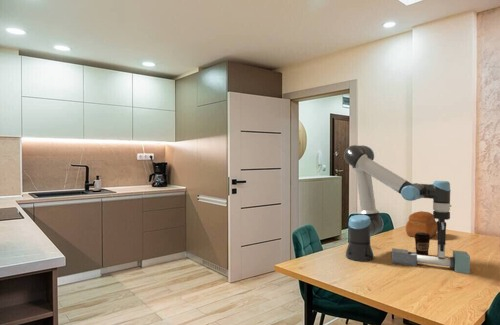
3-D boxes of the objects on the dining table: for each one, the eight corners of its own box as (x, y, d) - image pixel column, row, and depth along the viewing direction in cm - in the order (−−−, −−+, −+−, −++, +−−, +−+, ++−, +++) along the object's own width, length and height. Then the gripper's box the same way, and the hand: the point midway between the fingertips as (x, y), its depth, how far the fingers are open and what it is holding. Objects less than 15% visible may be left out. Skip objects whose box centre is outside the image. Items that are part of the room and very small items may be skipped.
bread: (439, 234, 236) (439, 211, 236) (430, 240, 221) (430, 215, 221) (413, 231, 249) (413, 209, 248) (403, 236, 233) (403, 212, 233)
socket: (455, 272, 160) (455, 255, 160) (452, 266, 168) (452, 250, 168) (469, 273, 158) (470, 256, 157) (466, 268, 166) (466, 251, 166)
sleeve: (391, 263, 173) (391, 251, 173) (392, 260, 179) (392, 248, 179) (416, 266, 168) (417, 254, 168) (416, 262, 174) (416, 250, 174)
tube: (408, 264, 170) (409, 238, 170) (408, 261, 175) (408, 236, 175) (465, 271, 160) (465, 243, 160) (462, 267, 165) (463, 241, 165)
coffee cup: (432, 258, 182) (433, 235, 182) (417, 257, 183) (417, 234, 183) (427, 253, 190) (427, 231, 190) (412, 253, 192) (412, 231, 192)
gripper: (452, 214, 157) (452, 261, 158) (447, 209, 172) (447, 252, 172) (434, 212, 160) (434, 259, 161) (431, 208, 175) (431, 251, 175)
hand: (441, 256), depth 166 cm, fingers closed on tube, 3 cm apart
